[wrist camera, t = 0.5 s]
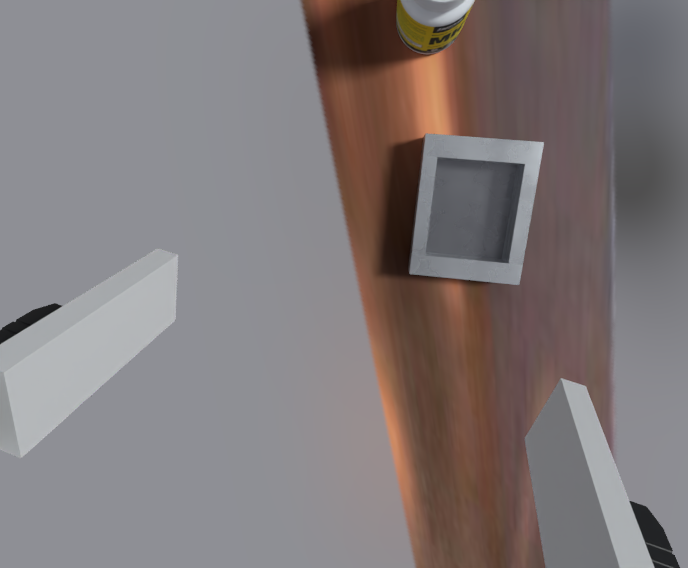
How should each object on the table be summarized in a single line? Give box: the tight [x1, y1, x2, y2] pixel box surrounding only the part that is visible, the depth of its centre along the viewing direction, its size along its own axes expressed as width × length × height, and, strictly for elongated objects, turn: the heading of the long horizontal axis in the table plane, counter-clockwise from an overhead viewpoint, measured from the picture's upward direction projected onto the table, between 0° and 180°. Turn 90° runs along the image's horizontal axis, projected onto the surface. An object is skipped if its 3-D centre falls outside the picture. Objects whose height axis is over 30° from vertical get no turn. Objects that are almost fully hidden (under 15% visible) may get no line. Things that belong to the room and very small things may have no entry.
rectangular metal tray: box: [408, 134, 544, 285], centre depth 33 cm, size 10×8×2 cm
